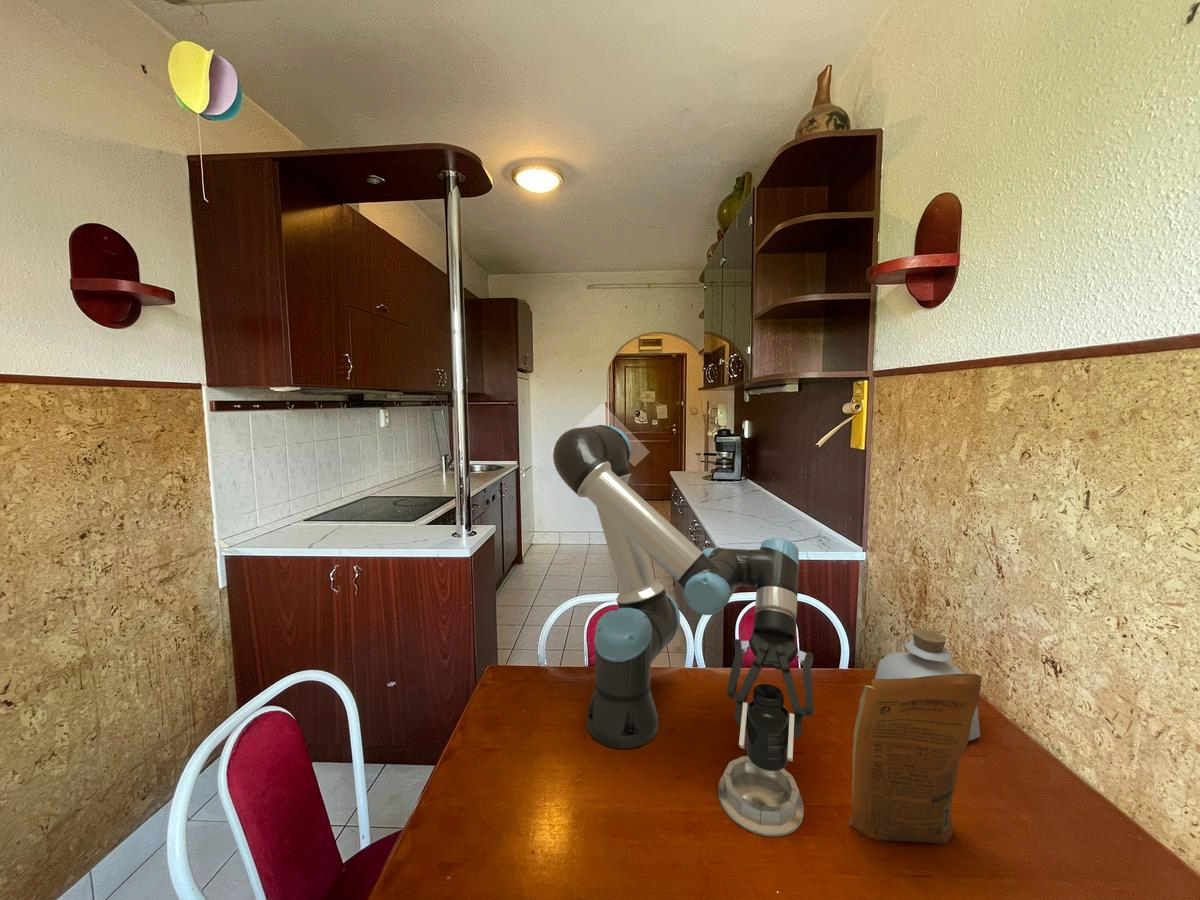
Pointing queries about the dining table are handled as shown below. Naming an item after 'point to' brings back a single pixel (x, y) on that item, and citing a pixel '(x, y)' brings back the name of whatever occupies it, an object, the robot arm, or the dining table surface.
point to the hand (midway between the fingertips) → (765, 752)
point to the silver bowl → (760, 798)
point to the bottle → (923, 663)
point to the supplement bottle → (767, 728)
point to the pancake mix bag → (910, 755)
